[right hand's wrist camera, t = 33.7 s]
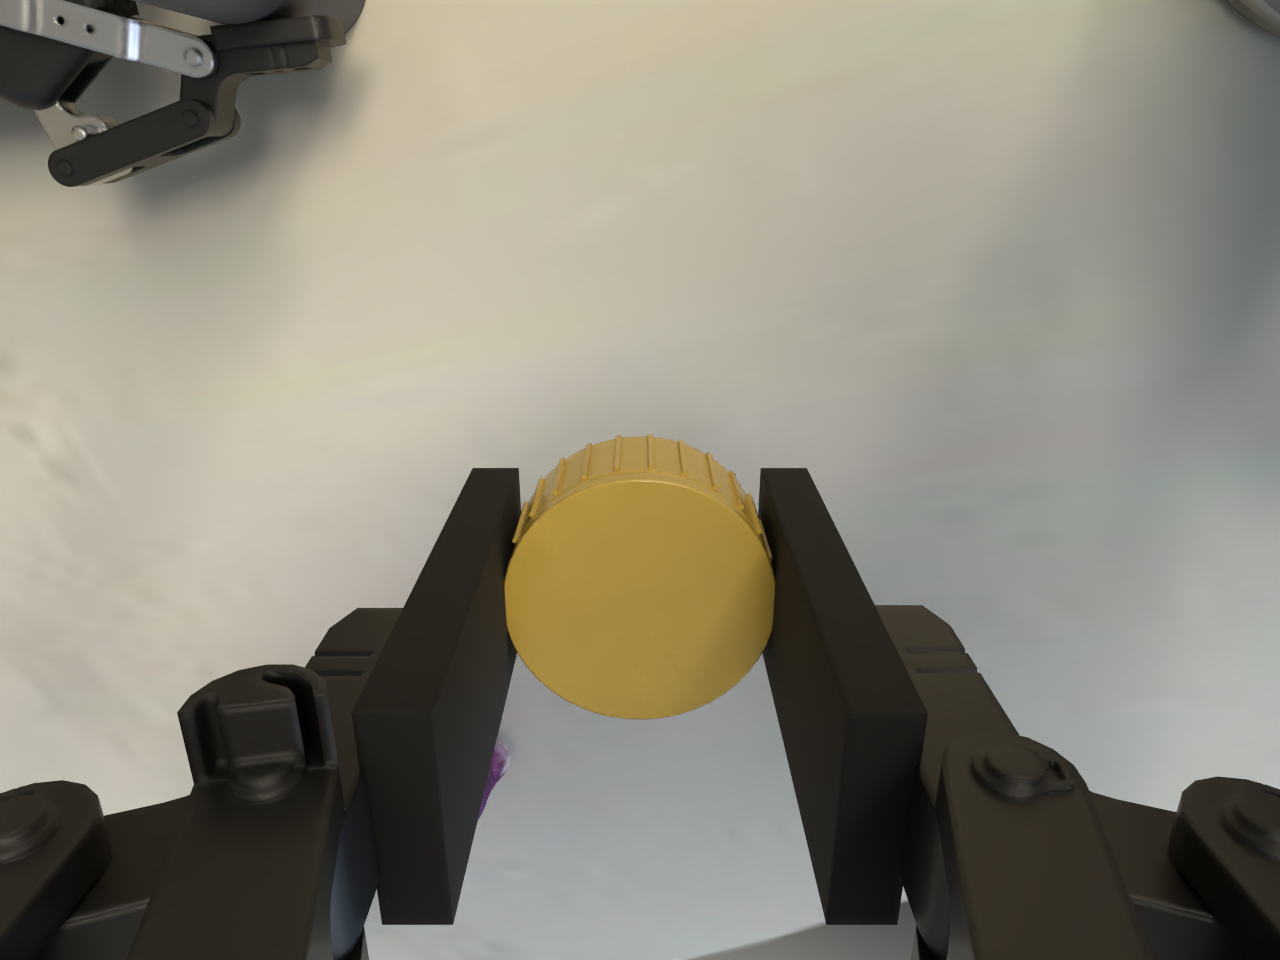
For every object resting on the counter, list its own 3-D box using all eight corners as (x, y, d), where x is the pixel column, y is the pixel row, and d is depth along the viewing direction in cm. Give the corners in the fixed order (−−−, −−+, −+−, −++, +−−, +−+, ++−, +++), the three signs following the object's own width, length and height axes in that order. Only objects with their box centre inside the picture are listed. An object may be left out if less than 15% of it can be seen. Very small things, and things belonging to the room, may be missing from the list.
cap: (512, 647, 15) (496, 713, 14) (520, 422, 14) (502, 464, 12) (746, 663, 16) (760, 732, 14) (779, 441, 14) (800, 487, 12)
